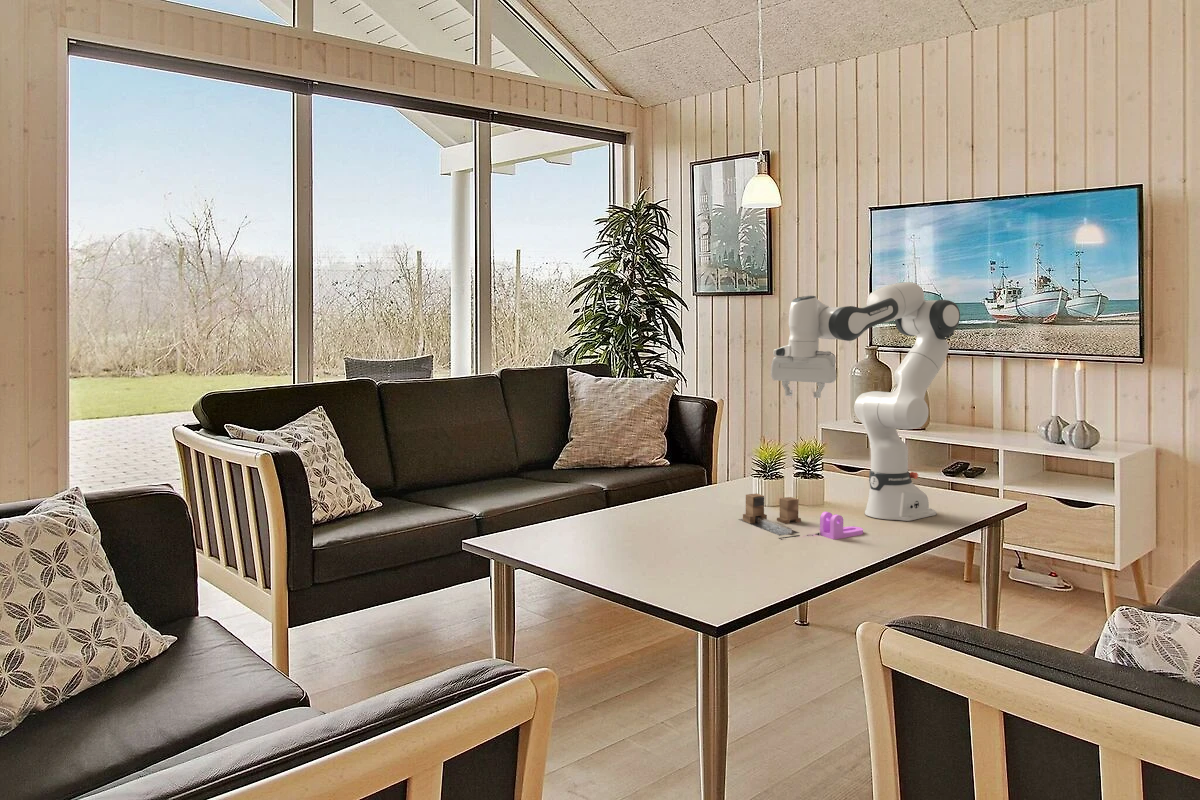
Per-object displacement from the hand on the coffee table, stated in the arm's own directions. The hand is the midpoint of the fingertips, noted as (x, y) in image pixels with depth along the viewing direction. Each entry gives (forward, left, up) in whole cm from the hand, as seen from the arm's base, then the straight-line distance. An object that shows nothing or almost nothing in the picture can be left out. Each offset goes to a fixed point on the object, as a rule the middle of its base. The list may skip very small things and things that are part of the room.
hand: (802, 396), depth 266 cm
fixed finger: (+12, -7, -38) cm, 41 cm away
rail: (+12, 0, -39) cm, 41 cm away
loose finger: (+3, -2, -39) cm, 39 cm away
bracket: (-4, +15, -40) cm, 42 cm away
